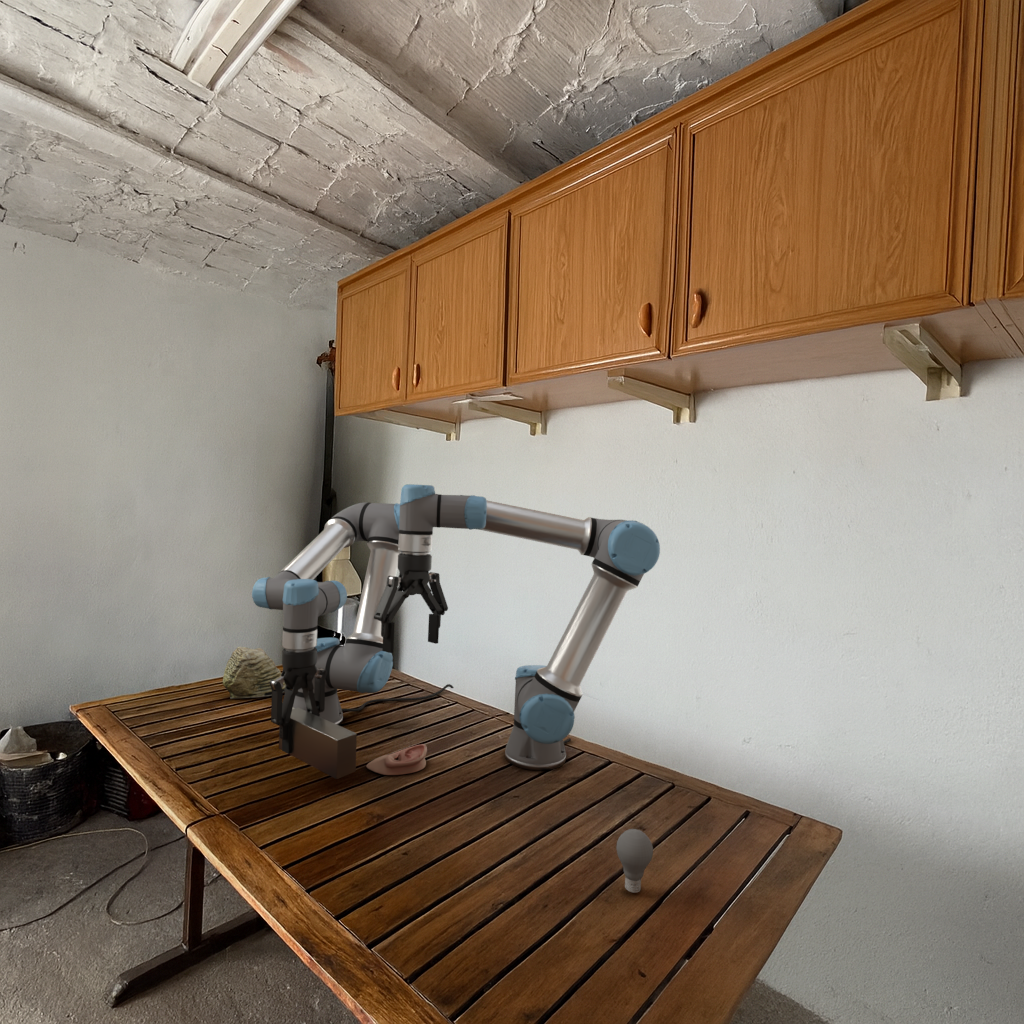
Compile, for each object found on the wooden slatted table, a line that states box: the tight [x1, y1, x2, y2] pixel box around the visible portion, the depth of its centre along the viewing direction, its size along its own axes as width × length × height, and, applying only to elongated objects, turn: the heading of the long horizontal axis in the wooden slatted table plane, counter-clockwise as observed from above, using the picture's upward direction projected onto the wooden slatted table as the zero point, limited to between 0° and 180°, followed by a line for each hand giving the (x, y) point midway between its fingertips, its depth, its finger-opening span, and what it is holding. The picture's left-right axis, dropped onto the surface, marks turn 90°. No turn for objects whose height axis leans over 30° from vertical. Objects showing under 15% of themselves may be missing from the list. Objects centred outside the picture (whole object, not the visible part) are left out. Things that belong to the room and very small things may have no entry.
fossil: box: [222, 646, 286, 699], centre depth 198 cm, size 9×18×15 cm, turn 132°
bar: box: [278, 708, 358, 780], centre depth 141 cm, size 22×5×8 cm, turn 51°
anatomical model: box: [366, 743, 428, 776], centre depth 150 cm, size 13×4×12 cm
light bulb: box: [615, 828, 654, 894], centre depth 106 cm, size 6×6×10 cm
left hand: (297, 747), depth 145 cm, fingers closed on bar, 5 cm apart
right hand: (411, 647), depth 143 cm, fingers open, 13 cm apart
